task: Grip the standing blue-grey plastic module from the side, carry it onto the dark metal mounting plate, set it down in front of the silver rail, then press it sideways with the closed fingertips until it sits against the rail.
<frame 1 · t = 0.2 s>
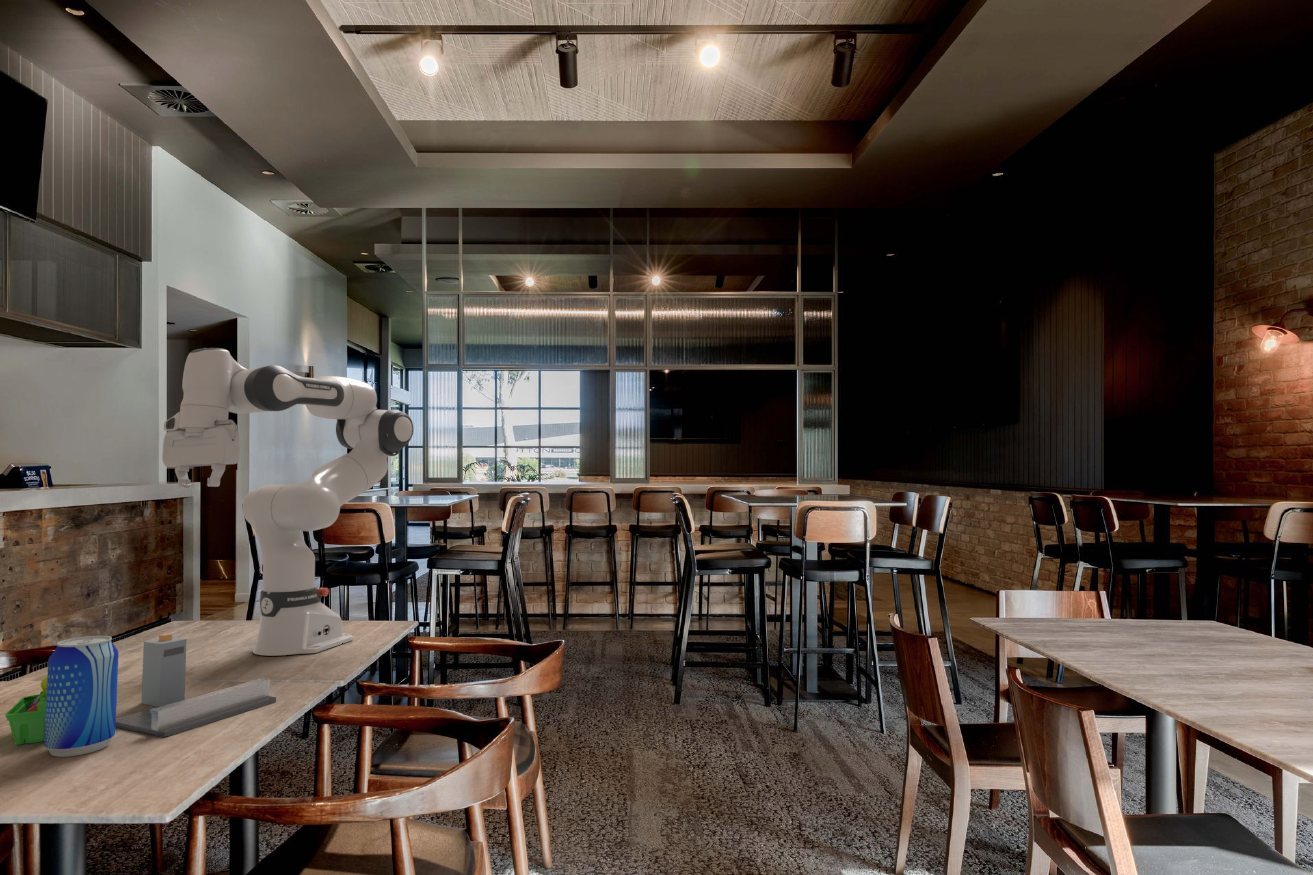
hand: (198, 487, 154), 39 cm above the table, tool pointing down, fingers open, 8 cm apart
module: (163, 701, 133), on the table
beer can: (80, 749, 110), on the table
fruit basket: (48, 734, 117), on the table
rail plate: (196, 712, 127), on the table
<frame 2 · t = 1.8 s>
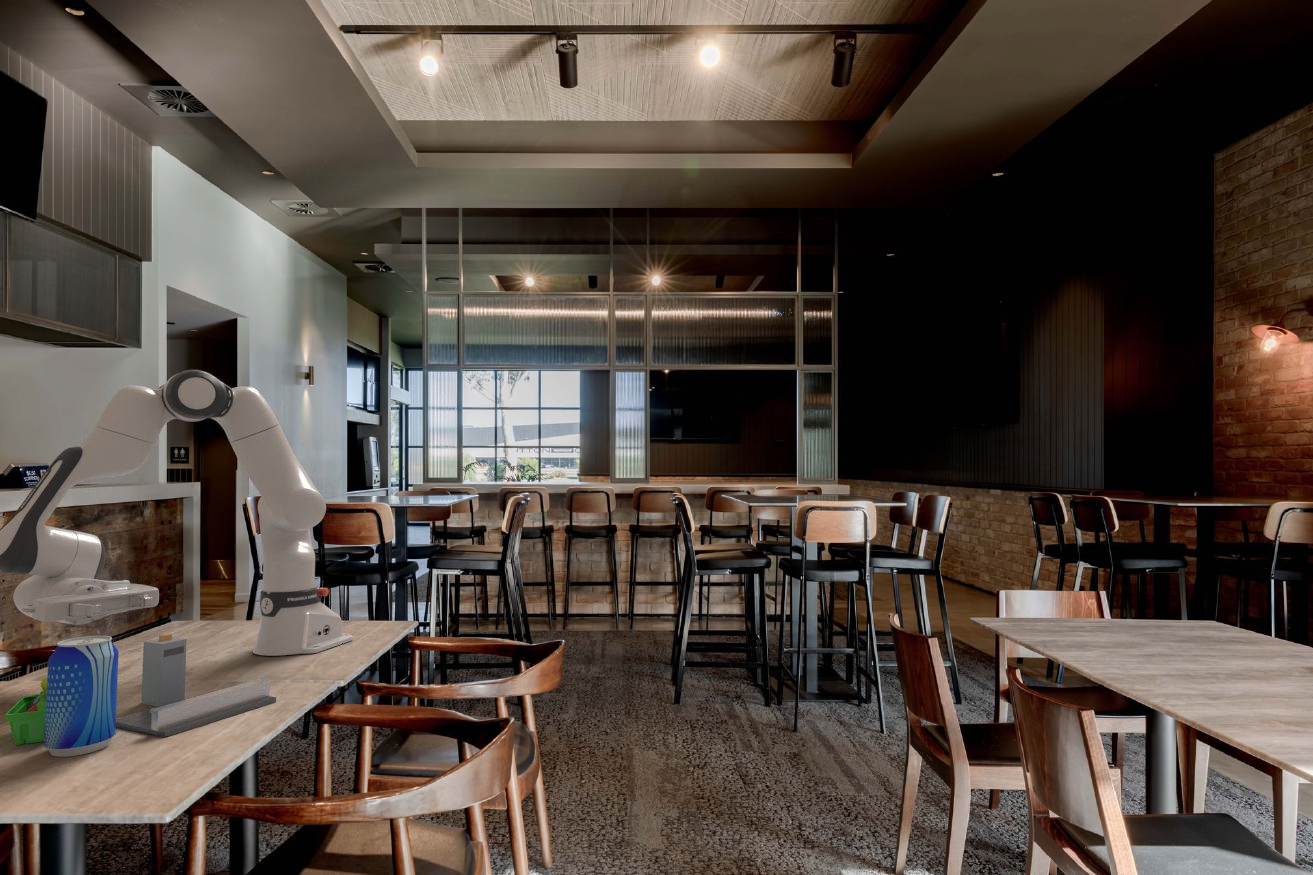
hand: (123, 606, 139), 16 cm above the table, tool horizontal, fingers open, 8 cm apart
nothing on the table moved.
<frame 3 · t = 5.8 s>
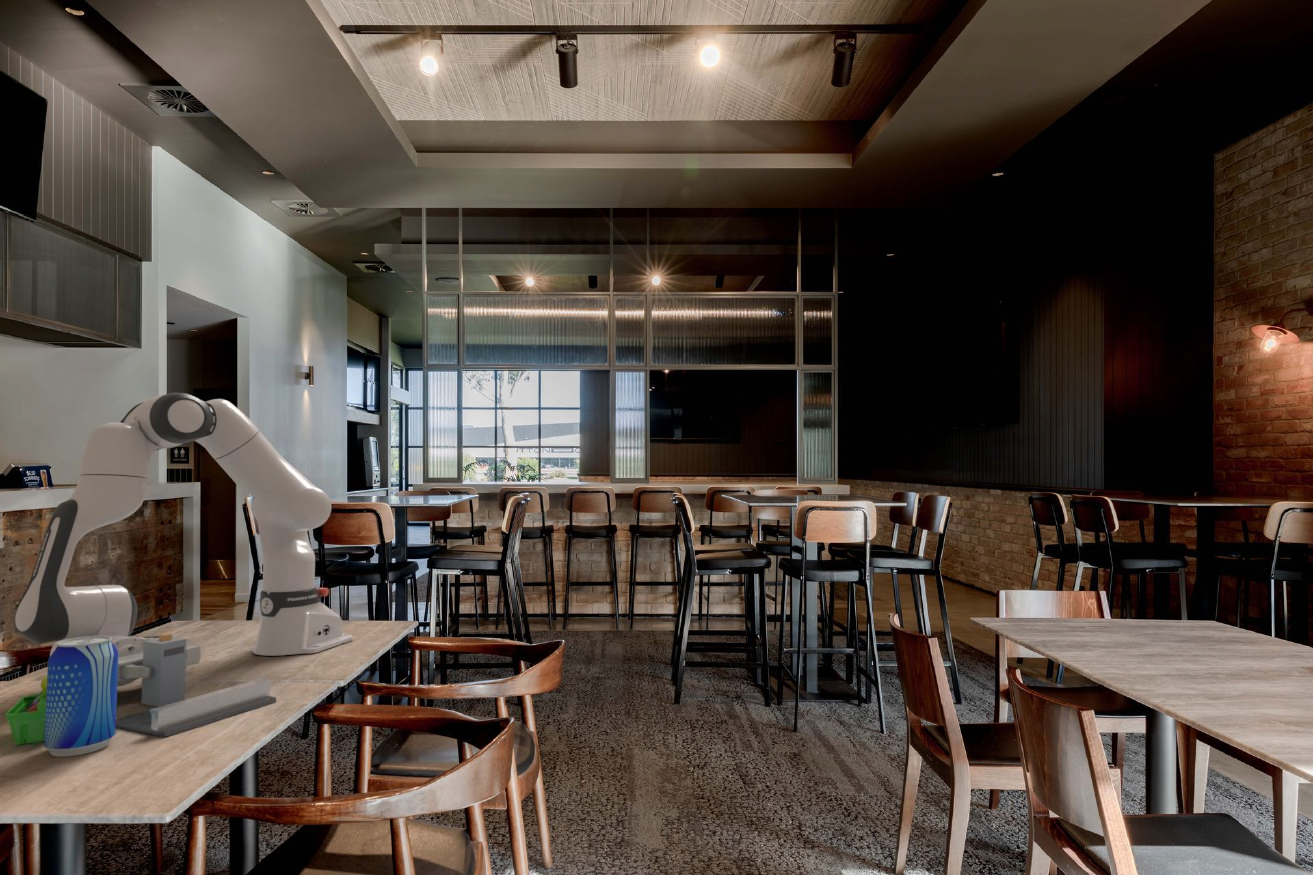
hand: (167, 668, 133), 6 cm above the table, tool horizontal, fingers closed on module, 4 cm apart
module: (163, 701, 133), on the table, touching gripper
everything else where it was.
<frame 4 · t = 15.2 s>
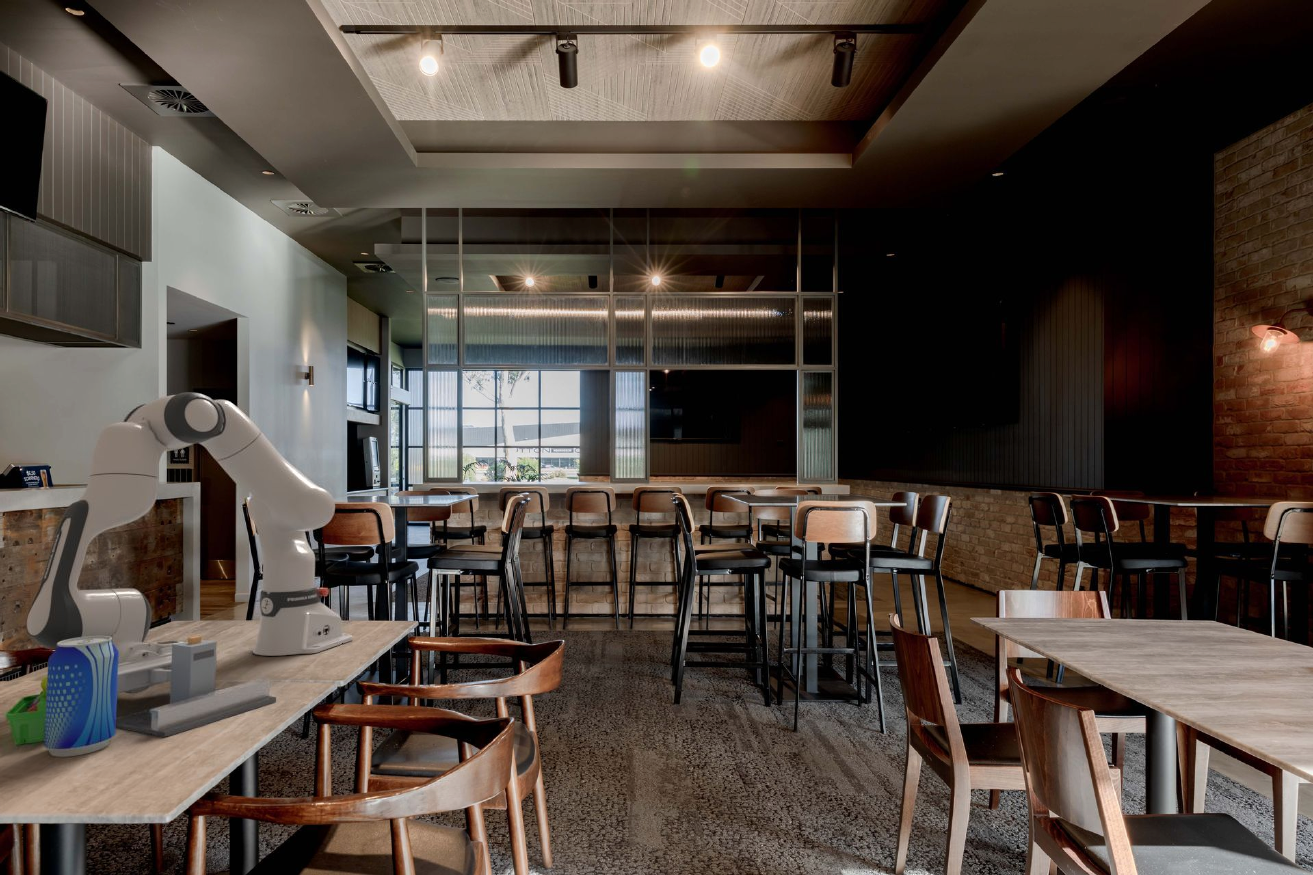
hand: (183, 675, 128), 6 cm above the table, tool horizontal, fingers closed, pressing on module
module: (192, 707, 127), point 1 cm above the table, touching gripper
everything else where it was.
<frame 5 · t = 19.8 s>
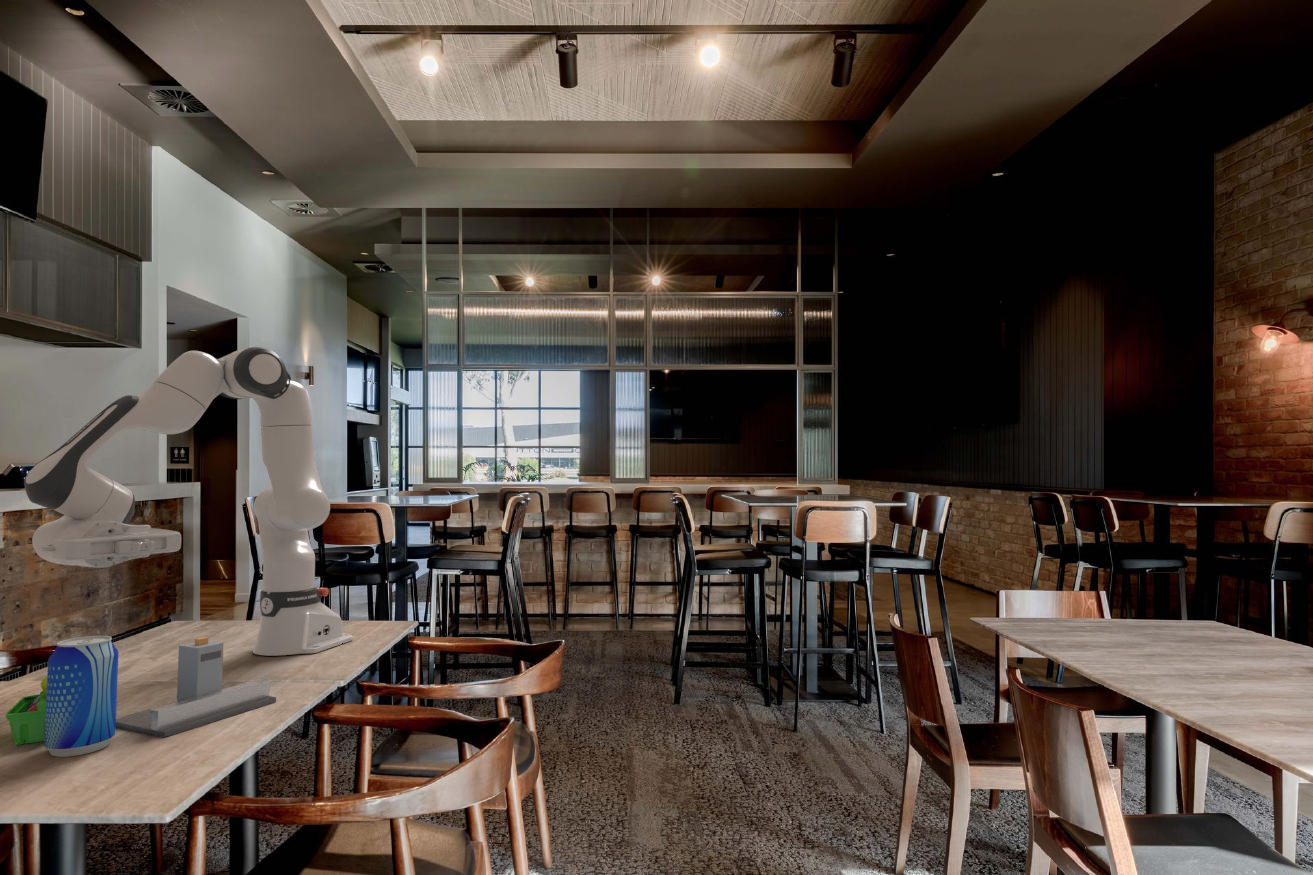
hand: (146, 546, 134), 28 cm above the table, tool horizontal, fingers closed
module: (199, 708, 127), point 1 cm above the table, touching rail plate
everything else where it was.
at the end: module inside the target area on the rail plate (0.5 cm from its centre), point 0.8 cm above the rail plate's base; module tilted 0°; the gripper is holding nothing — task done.
